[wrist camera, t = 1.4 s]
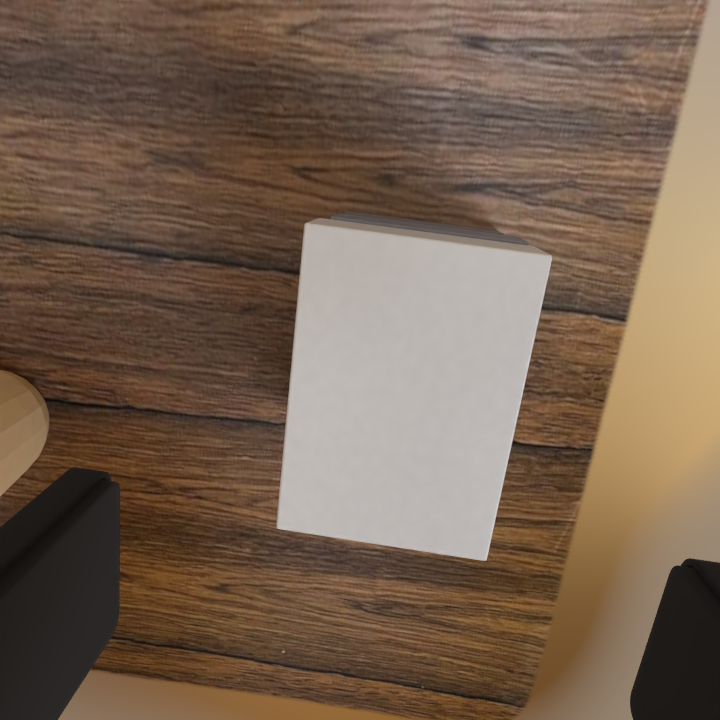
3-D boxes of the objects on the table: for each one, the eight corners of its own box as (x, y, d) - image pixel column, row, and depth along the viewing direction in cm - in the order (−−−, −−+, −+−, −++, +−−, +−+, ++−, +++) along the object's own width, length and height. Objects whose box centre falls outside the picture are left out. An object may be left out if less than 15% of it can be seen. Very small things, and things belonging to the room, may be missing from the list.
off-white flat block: (317, 217, 19) (304, 222, 17) (535, 246, 19) (553, 255, 16) (290, 491, 22) (275, 529, 20) (478, 520, 22) (486, 562, 19)
